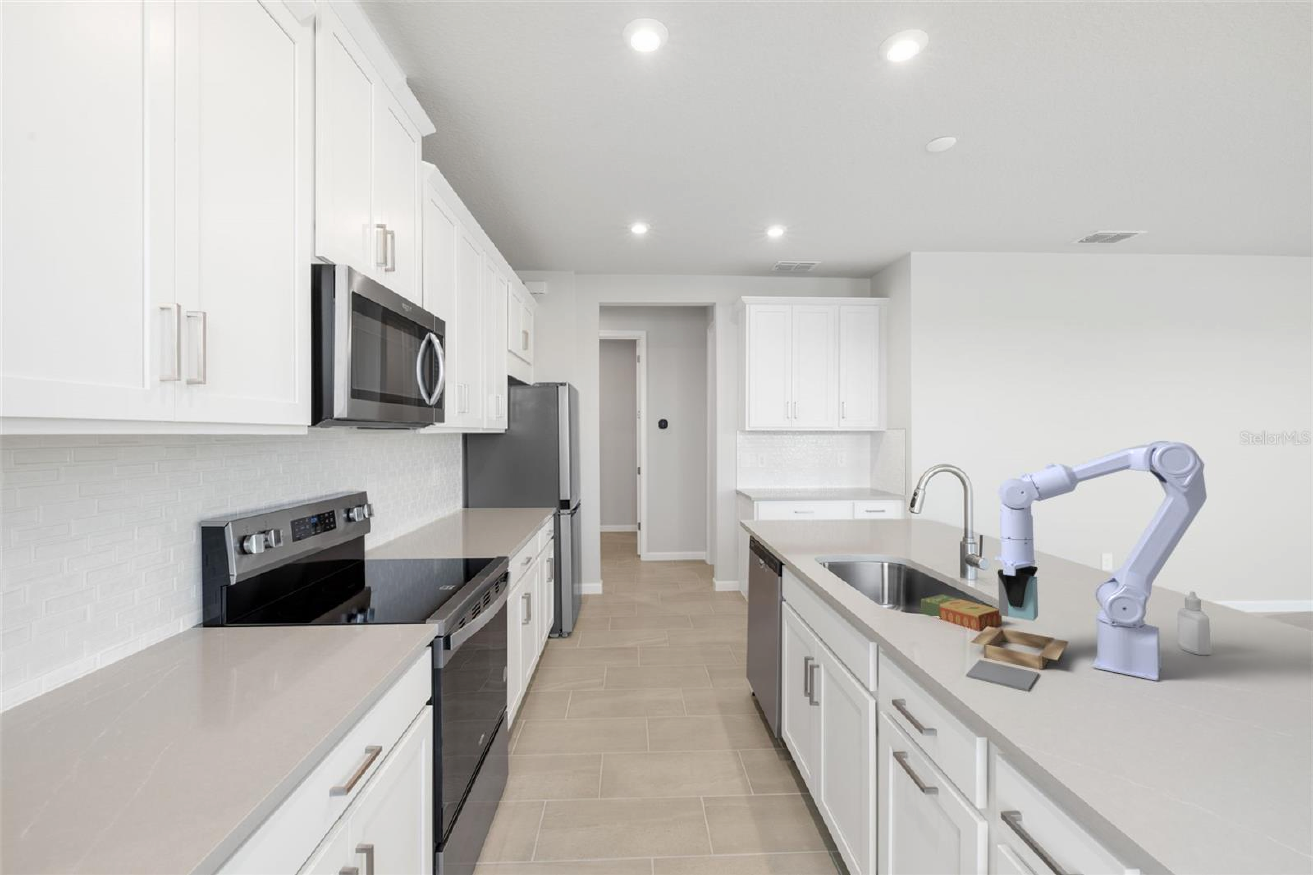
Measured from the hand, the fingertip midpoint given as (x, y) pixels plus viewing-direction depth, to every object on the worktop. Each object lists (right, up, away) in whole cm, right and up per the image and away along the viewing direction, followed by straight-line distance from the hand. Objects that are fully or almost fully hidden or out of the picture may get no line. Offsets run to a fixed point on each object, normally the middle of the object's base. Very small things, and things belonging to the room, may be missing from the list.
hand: (1018, 603), depth 119 cm
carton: (0, -11, +22) cm, 25 cm away
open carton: (0, -10, 0) cm, 10 cm away
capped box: (0, -2, 0) cm, 2 cm away
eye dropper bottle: (+35, -10, -1) cm, 36 cm away
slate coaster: (-9, -11, -10) cm, 17 cm away
